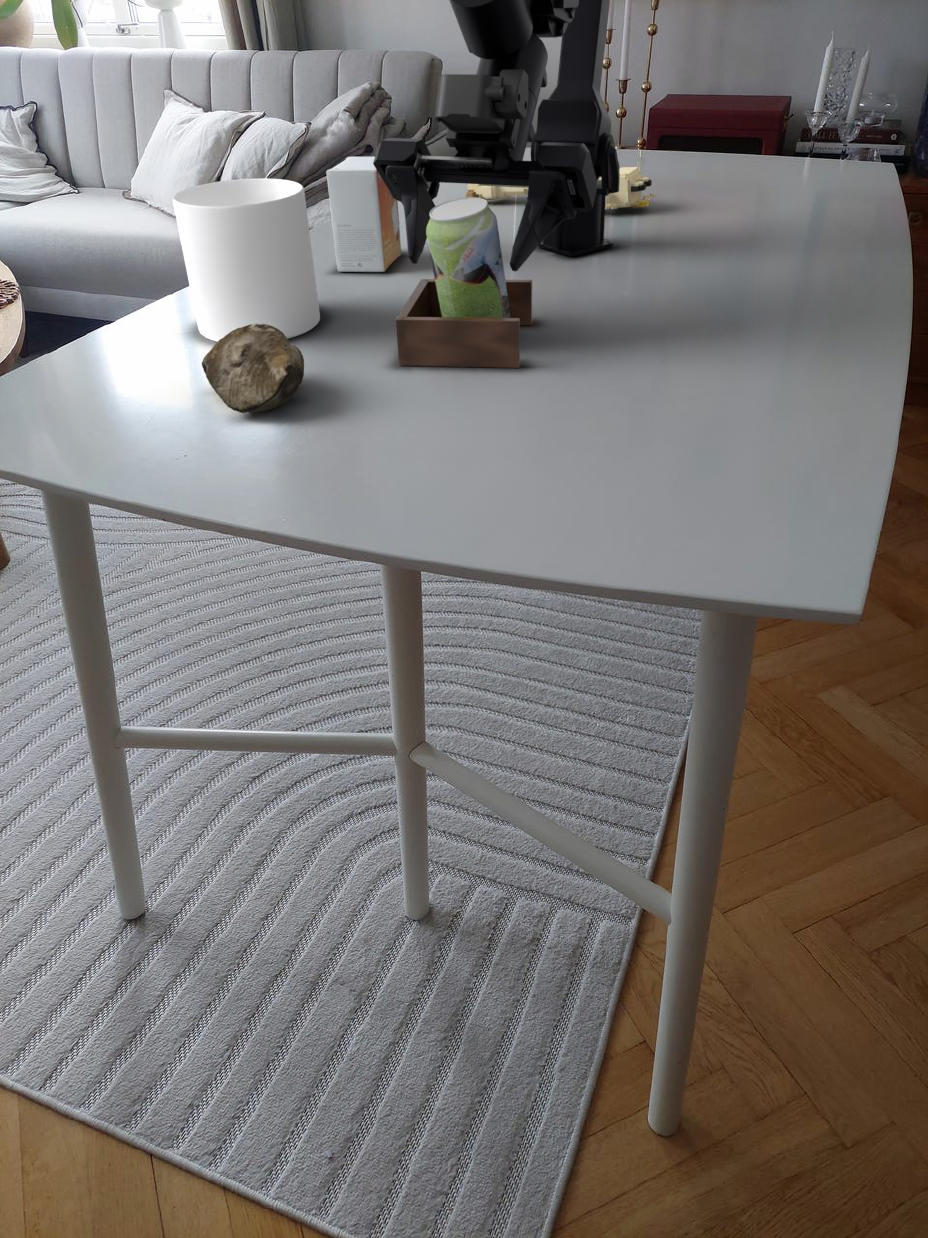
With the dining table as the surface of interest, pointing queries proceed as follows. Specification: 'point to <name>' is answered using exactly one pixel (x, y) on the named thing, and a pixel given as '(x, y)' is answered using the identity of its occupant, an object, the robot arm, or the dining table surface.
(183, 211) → the cup
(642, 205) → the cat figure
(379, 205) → the small box
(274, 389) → the fossilized seashell
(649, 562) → the dining table surface
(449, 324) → the case
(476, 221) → the beverage can
